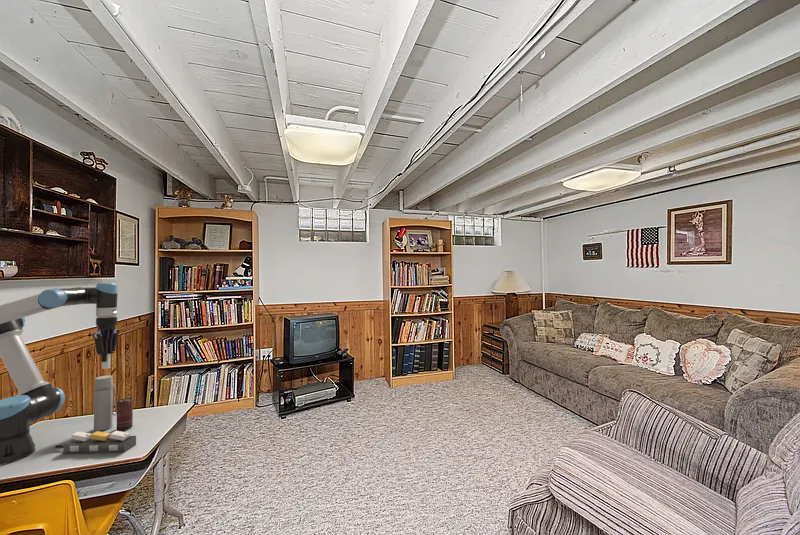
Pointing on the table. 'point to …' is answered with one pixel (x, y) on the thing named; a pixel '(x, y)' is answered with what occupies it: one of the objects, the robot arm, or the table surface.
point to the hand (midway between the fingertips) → (106, 368)
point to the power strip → (98, 446)
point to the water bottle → (104, 402)
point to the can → (124, 414)
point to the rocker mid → (100, 435)
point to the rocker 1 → (81, 436)
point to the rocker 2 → (119, 435)
